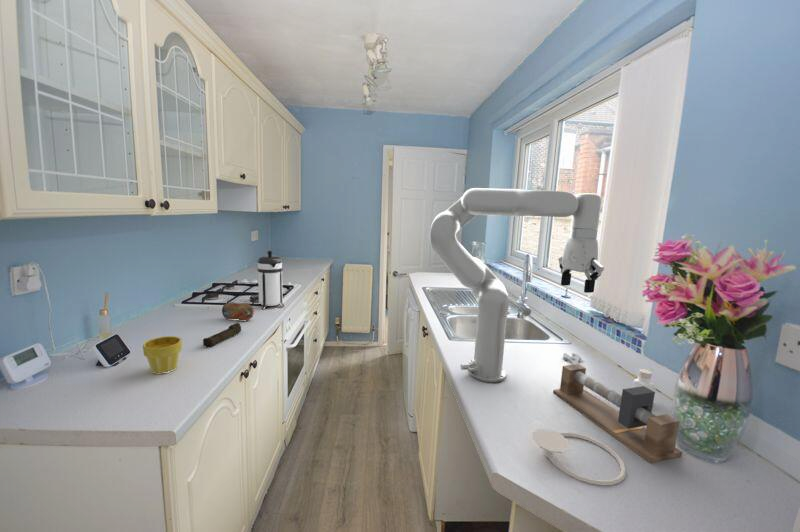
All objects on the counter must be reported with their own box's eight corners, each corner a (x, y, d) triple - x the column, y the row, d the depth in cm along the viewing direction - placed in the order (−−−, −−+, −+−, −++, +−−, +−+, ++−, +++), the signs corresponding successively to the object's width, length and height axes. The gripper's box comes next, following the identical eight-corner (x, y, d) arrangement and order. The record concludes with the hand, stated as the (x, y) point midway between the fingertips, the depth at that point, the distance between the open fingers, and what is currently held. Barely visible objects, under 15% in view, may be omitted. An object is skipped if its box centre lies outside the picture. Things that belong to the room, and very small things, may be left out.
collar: (628, 428, 89) (633, 395, 87) (617, 421, 92) (622, 389, 90) (649, 424, 91) (655, 391, 89) (638, 418, 94) (643, 386, 92)
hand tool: (211, 349, 135) (210, 337, 135) (202, 347, 136) (202, 335, 136) (246, 333, 153) (246, 322, 152) (238, 331, 154) (238, 321, 154)
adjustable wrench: (589, 388, 117) (590, 383, 117) (568, 384, 119) (568, 379, 119) (579, 358, 141) (580, 353, 140) (561, 355, 143) (562, 351, 142)
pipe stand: (650, 463, 82) (656, 427, 80) (553, 392, 112) (556, 365, 111) (681, 455, 85) (688, 421, 83) (578, 389, 115) (582, 362, 114)
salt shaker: (630, 398, 111) (634, 369, 109) (638, 395, 112) (643, 367, 111) (643, 404, 107) (647, 375, 106) (651, 402, 109) (656, 373, 107)
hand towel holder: (646, 471, 74) (545, 465, 74) (643, 490, 74) (543, 483, 75) (603, 422, 90) (521, 417, 91) (601, 437, 91) (519, 432, 92)
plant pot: (178, 375, 114) (176, 346, 112) (139, 379, 111) (137, 349, 109) (186, 361, 123) (185, 334, 122) (152, 364, 120) (149, 337, 119)
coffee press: (292, 303, 199) (291, 250, 194) (274, 311, 184) (273, 253, 179) (265, 300, 204) (264, 247, 199) (246, 307, 189) (244, 251, 184)
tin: (221, 319, 168) (221, 302, 167) (226, 317, 172) (225, 300, 170) (251, 322, 166) (250, 304, 165) (255, 320, 169) (254, 303, 168)
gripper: (553, 232, 117) (547, 283, 120) (596, 236, 101) (588, 295, 104) (572, 232, 119) (566, 282, 122) (617, 237, 103) (608, 295, 106)
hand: (576, 288), depth 113 cm, fingers open, 9 cm apart
